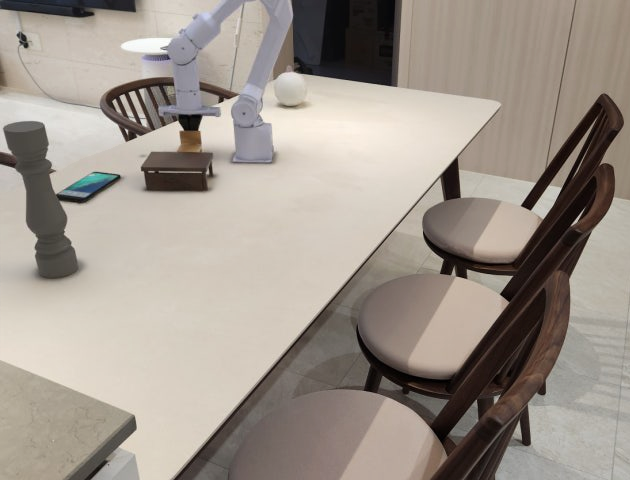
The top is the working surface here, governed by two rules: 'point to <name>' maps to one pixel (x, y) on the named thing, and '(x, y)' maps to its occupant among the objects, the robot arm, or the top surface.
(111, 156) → the top surface
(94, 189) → the smartphone
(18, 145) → the candle holder
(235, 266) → the top surface
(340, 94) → the top surface
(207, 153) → the desk
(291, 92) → the ornament
